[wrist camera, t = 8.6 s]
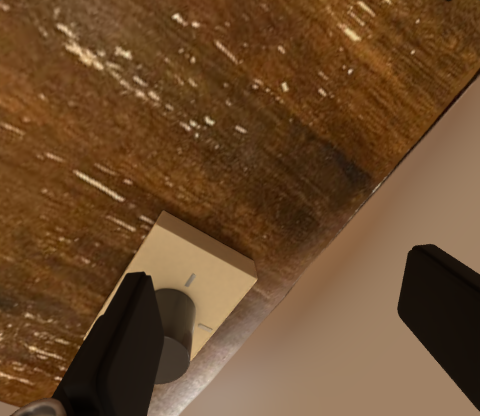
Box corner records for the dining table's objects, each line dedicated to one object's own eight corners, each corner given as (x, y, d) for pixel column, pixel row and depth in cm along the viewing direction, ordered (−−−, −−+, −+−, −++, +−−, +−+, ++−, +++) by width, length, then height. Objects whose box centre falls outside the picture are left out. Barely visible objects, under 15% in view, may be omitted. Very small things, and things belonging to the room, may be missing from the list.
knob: (196, 288, 23) (189, 338, 18) (196, 331, 25) (189, 388, 20) (137, 287, 23) (113, 338, 18) (141, 332, 24) (121, 389, 19)
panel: (182, 351, 30) (177, 378, 27) (96, 315, 27) (81, 341, 24) (254, 260, 26) (258, 280, 23) (163, 209, 23) (154, 224, 20)
